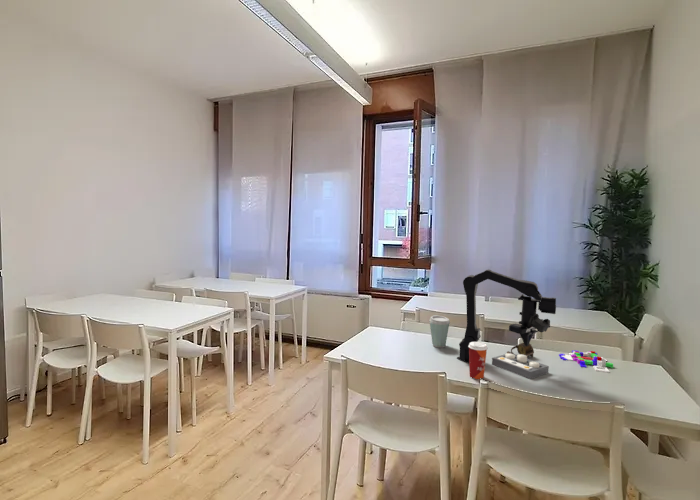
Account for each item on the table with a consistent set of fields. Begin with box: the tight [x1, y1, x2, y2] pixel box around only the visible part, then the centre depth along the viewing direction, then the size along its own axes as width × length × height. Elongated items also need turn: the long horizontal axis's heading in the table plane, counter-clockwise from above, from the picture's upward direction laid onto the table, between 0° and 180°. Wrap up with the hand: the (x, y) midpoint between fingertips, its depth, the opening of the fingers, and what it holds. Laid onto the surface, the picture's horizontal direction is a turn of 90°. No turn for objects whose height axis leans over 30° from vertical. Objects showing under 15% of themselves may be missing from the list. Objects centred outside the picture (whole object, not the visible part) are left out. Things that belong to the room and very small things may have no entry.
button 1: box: [504, 352, 515, 360], centre depth 180 cm, size 4×4×3 cm
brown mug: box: [506, 342, 535, 358], centre depth 190 cm, size 7×13×10 cm
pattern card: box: [497, 357, 532, 370], centre depth 172 cm, size 4×15×1 cm, turn 32°
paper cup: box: [468, 341, 488, 380], centre depth 164 cm, size 8×8×14 cm
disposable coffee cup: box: [428, 315, 451, 348], centre depth 203 cm, size 11×11×15 cm
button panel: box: [491, 353, 550, 380], centre depth 175 cm, size 13×19×3 cm
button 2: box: [529, 361, 540, 368], centre depth 170 cm, size 4×4×3 cm
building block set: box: [558, 349, 614, 374], centre depth 186 cm, size 25×20×4 cm
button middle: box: [516, 353, 528, 364], centre depth 175 cm, size 4×4×3 cm
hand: (526, 345), depth 172 cm, fingers closed
